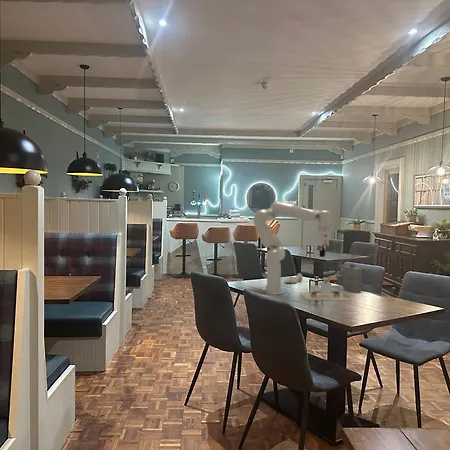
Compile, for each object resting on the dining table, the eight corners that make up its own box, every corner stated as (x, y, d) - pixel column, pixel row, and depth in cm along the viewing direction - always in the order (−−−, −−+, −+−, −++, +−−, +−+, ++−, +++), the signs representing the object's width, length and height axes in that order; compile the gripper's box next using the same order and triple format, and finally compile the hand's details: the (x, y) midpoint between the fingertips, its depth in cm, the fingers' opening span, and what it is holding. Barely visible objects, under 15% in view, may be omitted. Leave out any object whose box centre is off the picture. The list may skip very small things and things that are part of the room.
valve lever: (323, 282, 287) (324, 276, 287) (322, 281, 290) (322, 275, 290) (343, 282, 289) (343, 276, 289) (341, 281, 292) (341, 275, 292)
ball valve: (305, 299, 281) (306, 282, 280) (300, 294, 297) (300, 278, 296) (350, 300, 282) (351, 282, 282) (342, 294, 298) (343, 278, 298)
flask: (340, 289, 317) (341, 262, 316) (346, 288, 320) (347, 262, 319) (356, 293, 304) (357, 265, 303) (362, 292, 307) (363, 264, 306)
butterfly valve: (290, 284, 333) (306, 280, 343) (284, 259, 336) (299, 256, 346) (283, 286, 339) (298, 282, 350) (276, 261, 342) (292, 258, 353)
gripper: (332, 230, 275) (331, 258, 276) (325, 228, 290) (324, 255, 291) (321, 229, 274) (319, 258, 276) (314, 228, 289) (313, 255, 290)
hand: (322, 256), depth 283 cm, fingers closed
